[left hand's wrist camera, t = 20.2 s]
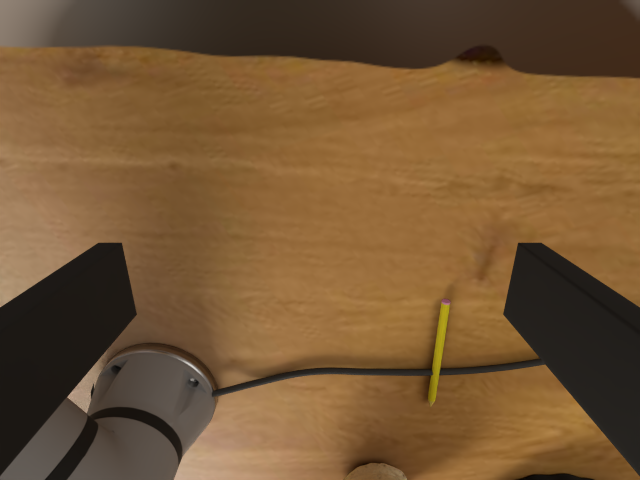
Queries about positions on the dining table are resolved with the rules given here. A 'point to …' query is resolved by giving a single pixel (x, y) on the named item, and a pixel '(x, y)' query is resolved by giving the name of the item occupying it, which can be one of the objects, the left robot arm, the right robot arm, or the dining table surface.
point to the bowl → (376, 472)
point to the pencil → (438, 350)
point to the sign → (554, 477)
